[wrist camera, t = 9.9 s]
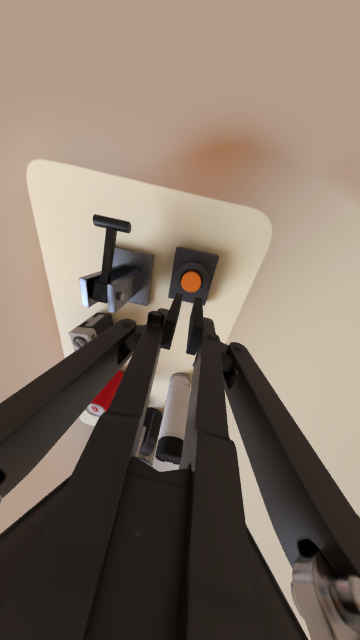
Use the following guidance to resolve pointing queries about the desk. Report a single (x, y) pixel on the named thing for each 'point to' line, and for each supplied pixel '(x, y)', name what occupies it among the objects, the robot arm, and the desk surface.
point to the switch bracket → (123, 280)
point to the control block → (192, 262)
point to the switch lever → (107, 253)
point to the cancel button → (191, 281)
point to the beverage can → (105, 396)
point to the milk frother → (149, 436)
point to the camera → (90, 329)
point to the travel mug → (174, 420)
